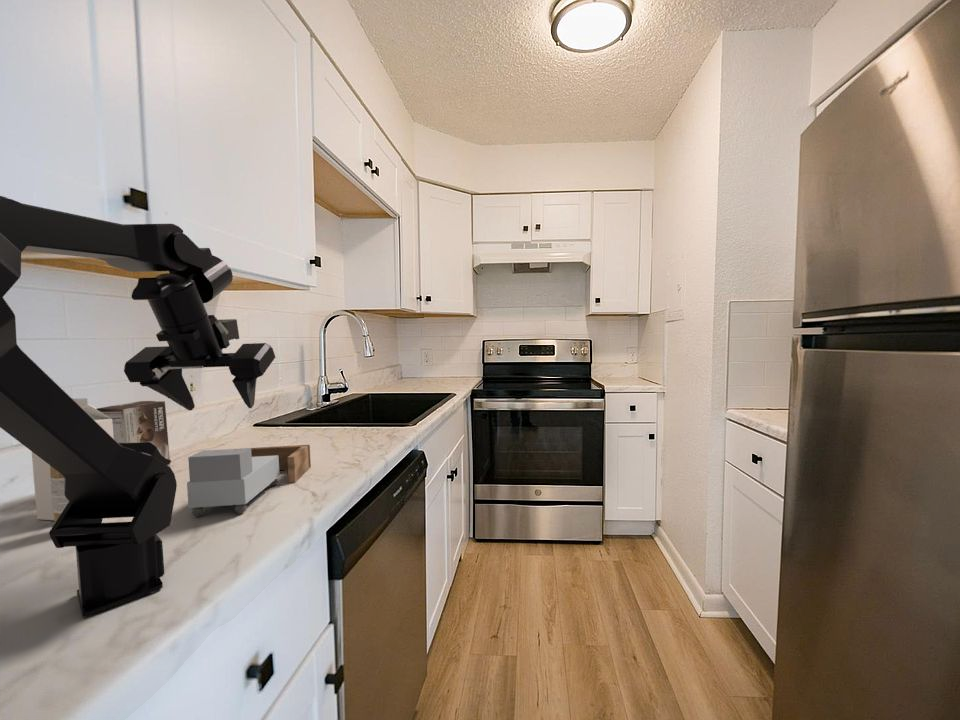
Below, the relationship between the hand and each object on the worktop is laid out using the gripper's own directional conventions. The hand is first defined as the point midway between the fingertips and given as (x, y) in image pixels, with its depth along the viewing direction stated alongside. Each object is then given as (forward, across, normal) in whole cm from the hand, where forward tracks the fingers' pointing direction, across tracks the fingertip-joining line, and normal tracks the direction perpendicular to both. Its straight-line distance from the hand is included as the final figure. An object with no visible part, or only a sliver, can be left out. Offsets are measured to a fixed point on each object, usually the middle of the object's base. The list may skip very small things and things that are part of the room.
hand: (222, 407), depth 65 cm
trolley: (+18, +2, +3) cm, 18 cm away
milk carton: (+17, +26, +5) cm, 32 cm away
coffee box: (+24, +27, -7) cm, 37 cm away
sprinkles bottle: (+14, +21, +11) cm, 27 cm away
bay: (+24, +2, -7) cm, 25 cm away
